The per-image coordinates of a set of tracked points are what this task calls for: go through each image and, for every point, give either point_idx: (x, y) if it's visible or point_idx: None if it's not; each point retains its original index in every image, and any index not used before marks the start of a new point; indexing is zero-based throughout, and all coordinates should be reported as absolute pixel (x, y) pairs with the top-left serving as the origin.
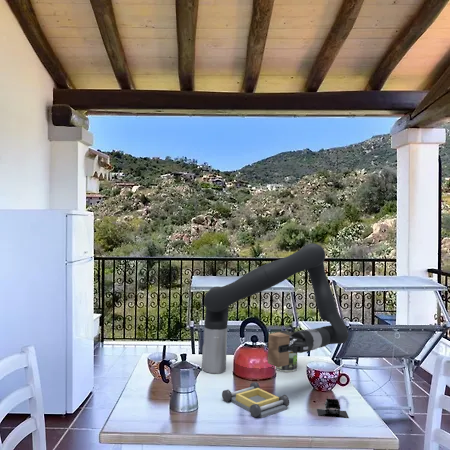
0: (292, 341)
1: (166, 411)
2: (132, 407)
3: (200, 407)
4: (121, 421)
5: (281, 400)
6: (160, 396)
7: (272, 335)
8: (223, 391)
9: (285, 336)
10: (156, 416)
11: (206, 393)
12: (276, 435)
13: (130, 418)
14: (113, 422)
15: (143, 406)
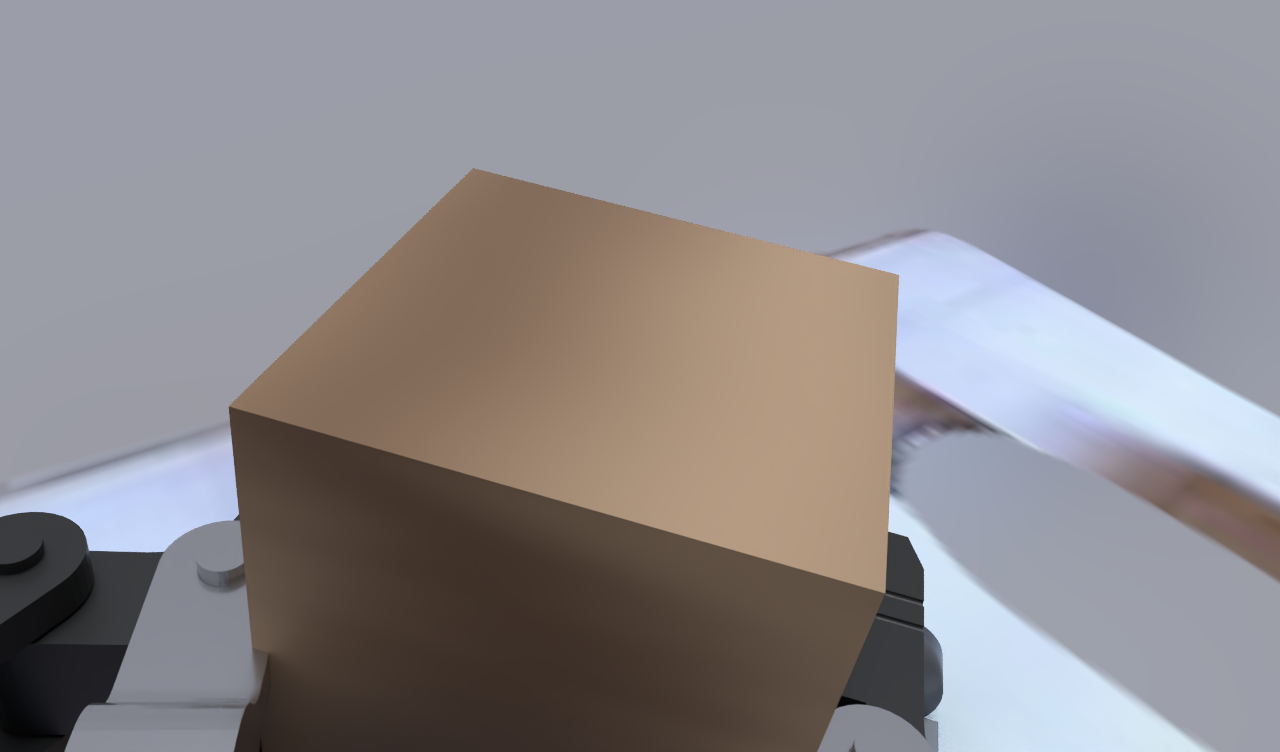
0: (132, 742)
1: (974, 403)
2: (1123, 372)
3: (900, 517)
4: (990, 282)
5: None
6: (1226, 523)
7: (740, 240)
8: (928, 637)
9: (355, 294)
10: (947, 352)
11: (1132, 743)
12: (209, 435)
13: (998, 306)
14: (1000, 269)
15: (1109, 397)
